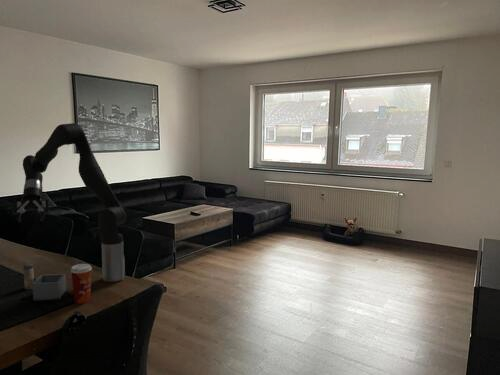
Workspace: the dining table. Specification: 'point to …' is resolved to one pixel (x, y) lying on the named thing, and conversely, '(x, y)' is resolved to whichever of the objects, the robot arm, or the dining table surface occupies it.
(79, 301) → the paper cup
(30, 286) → the birch peg
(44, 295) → the grey open box
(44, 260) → the dining table surface
